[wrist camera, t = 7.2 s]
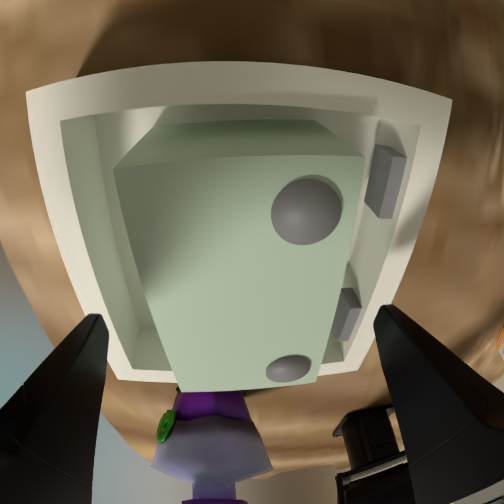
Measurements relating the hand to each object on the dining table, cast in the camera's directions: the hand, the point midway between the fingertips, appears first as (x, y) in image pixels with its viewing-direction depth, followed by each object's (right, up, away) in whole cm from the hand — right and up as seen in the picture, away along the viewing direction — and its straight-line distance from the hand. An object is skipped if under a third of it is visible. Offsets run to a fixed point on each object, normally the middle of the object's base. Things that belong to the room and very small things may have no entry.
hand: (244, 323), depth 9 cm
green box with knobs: (0, +3, +4) cm, 5 cm away
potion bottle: (-3, -9, +13) cm, 16 cm away
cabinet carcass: (0, +3, +5) cm, 6 cm away
